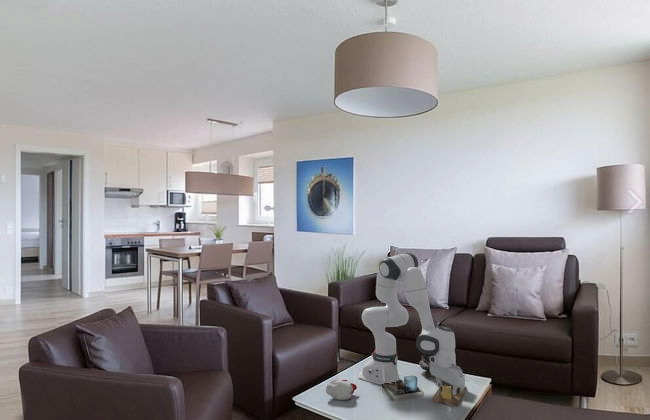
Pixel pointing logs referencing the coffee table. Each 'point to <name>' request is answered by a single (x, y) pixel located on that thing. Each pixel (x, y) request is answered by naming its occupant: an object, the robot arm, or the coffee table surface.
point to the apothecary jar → (426, 364)
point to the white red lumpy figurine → (340, 389)
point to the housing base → (454, 398)
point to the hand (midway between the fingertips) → (446, 390)
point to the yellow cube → (446, 392)
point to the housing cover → (450, 384)
